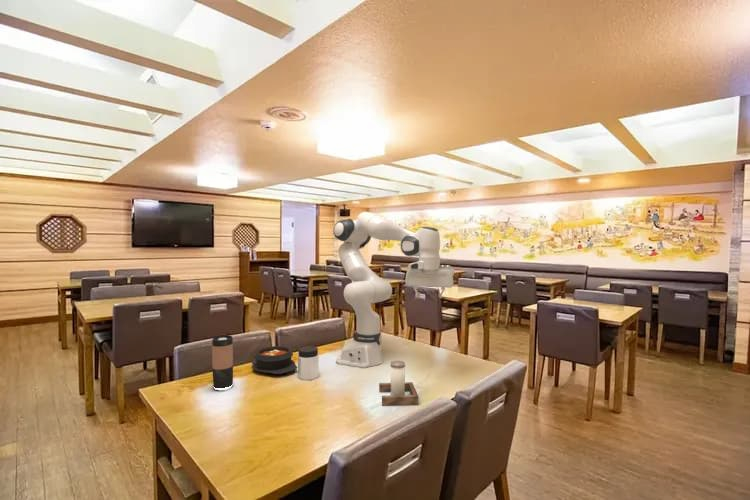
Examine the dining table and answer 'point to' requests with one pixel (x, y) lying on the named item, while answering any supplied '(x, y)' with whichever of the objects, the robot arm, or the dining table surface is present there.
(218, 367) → the travel mug
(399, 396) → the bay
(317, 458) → the dining table surface
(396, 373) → the canister
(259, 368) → the casserole
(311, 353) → the jar
